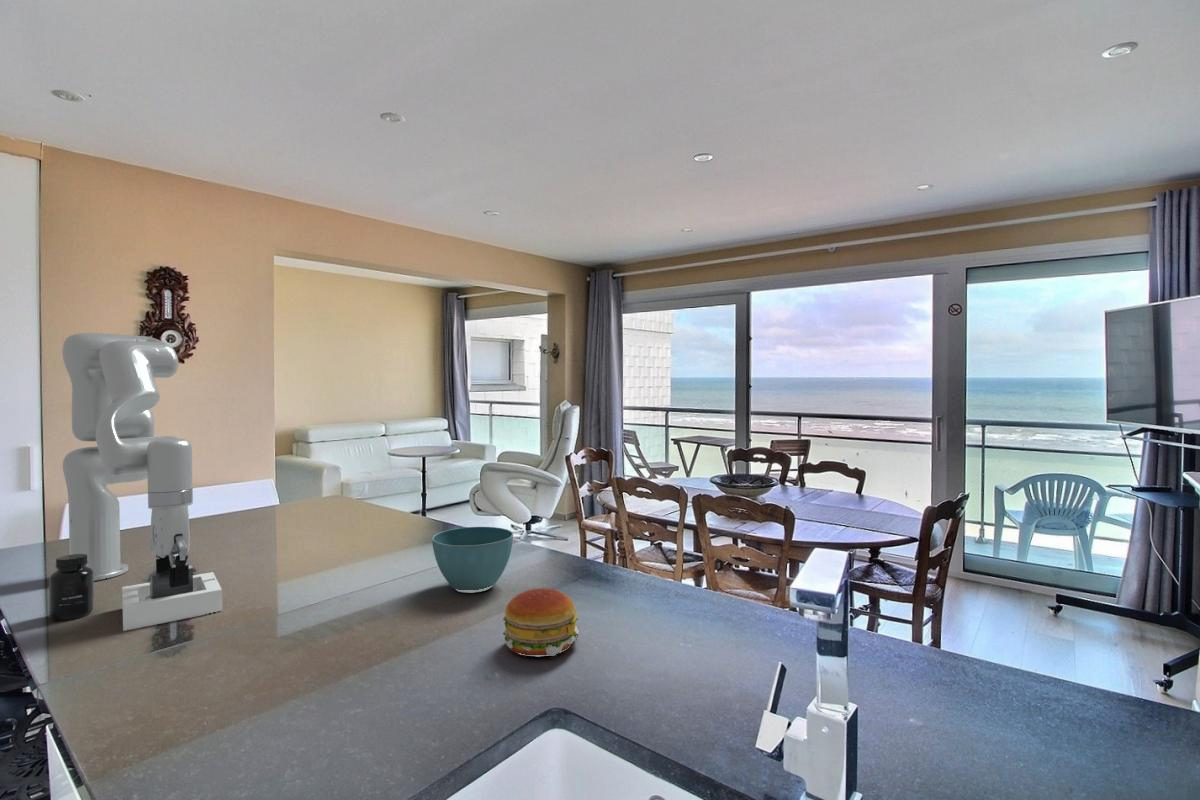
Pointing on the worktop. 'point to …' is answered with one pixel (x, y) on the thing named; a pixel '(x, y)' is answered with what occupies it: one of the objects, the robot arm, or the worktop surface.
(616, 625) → the worktop surface
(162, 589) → the dial
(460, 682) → the worktop surface
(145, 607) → the dial housing
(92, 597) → the supplement bottle
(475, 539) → the teal bowl
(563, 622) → the burger
